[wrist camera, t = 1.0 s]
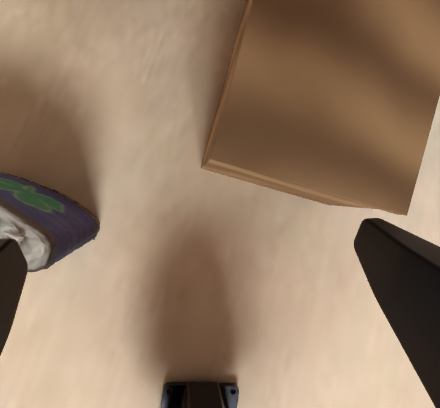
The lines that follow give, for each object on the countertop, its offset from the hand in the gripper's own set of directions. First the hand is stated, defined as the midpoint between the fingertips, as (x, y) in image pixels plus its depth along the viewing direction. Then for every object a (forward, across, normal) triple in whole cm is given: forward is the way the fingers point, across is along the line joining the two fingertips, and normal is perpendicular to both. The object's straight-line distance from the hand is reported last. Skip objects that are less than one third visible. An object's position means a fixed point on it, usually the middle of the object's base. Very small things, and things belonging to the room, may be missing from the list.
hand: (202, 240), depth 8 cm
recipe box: (+19, -9, +1) cm, 22 cm away
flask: (+15, +11, +8) cm, 20 cm away
